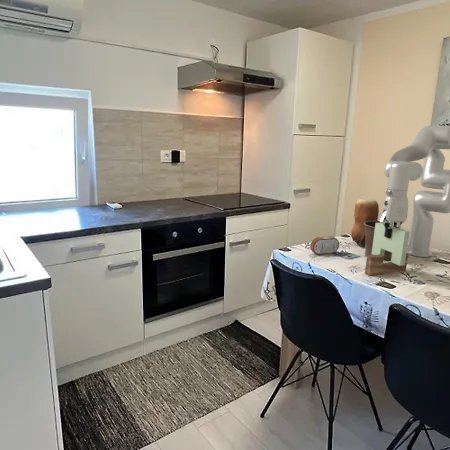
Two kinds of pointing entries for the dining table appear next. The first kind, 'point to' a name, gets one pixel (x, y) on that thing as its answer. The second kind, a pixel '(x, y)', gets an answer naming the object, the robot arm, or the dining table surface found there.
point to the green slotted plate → (391, 243)
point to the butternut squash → (363, 218)
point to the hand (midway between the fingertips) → (390, 236)
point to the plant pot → (369, 239)
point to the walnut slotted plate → (382, 265)
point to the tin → (324, 245)
